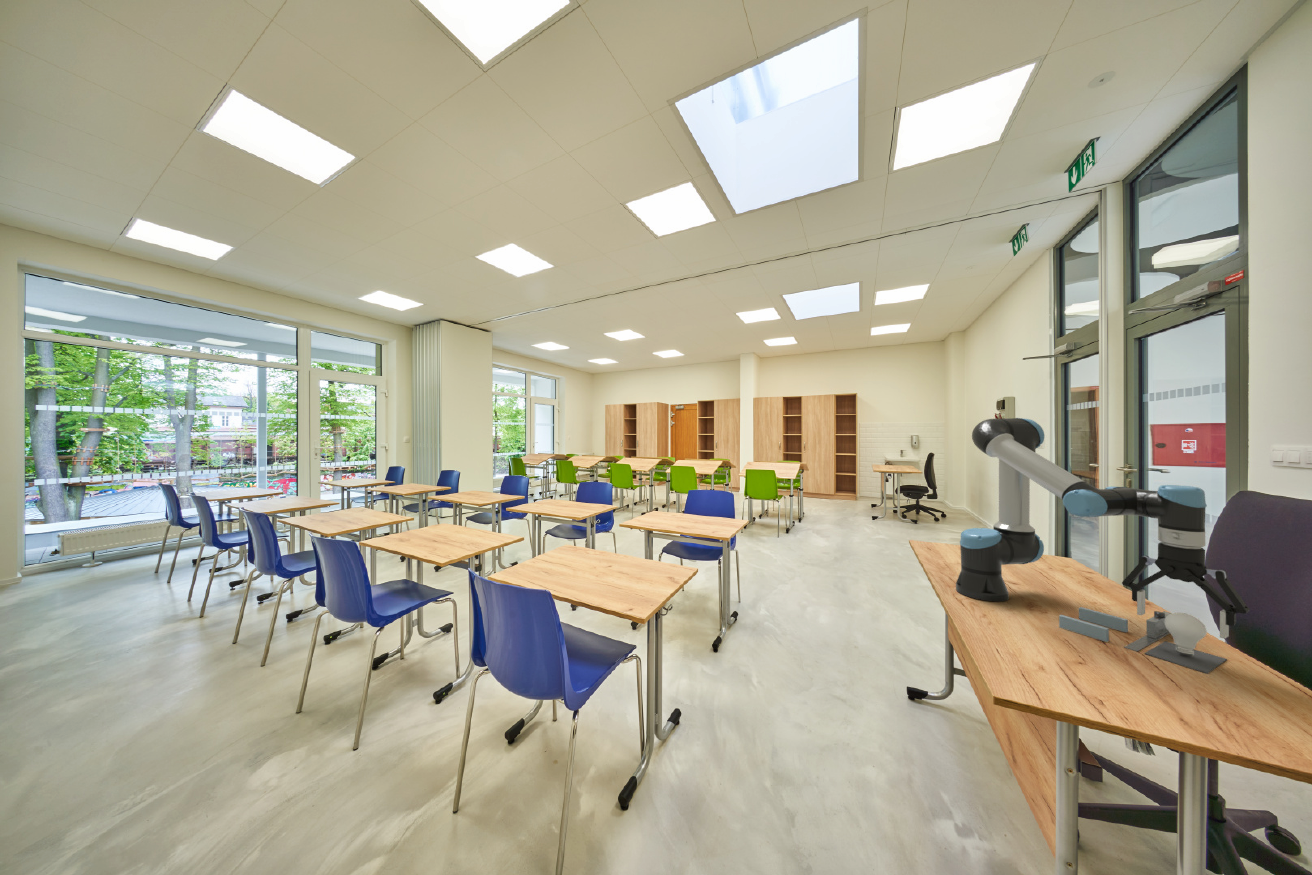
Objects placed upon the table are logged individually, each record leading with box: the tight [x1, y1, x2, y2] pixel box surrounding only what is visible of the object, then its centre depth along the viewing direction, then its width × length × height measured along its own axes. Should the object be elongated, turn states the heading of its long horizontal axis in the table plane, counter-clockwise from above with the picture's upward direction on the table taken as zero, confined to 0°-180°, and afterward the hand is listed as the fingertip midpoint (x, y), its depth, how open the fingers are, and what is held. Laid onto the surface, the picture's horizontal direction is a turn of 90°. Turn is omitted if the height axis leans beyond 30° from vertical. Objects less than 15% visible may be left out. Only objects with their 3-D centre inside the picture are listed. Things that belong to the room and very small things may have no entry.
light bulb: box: [1164, 612, 1208, 656], centre depth 104 cm, size 7×7×11 cm
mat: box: [1144, 641, 1228, 675], centre depth 104 cm, size 10×14×1 cm
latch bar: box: [1145, 610, 1173, 639], centre depth 116 cm, size 2×13×6 cm, turn 114°
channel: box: [1058, 606, 1129, 643], centre depth 119 cm, size 10×14×4 cm
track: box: [1123, 631, 1171, 653], centre depth 114 cm, size 2×28×1 cm, turn 114°
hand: (1180, 624), depth 105 cm, fingers open, 13 cm apart
